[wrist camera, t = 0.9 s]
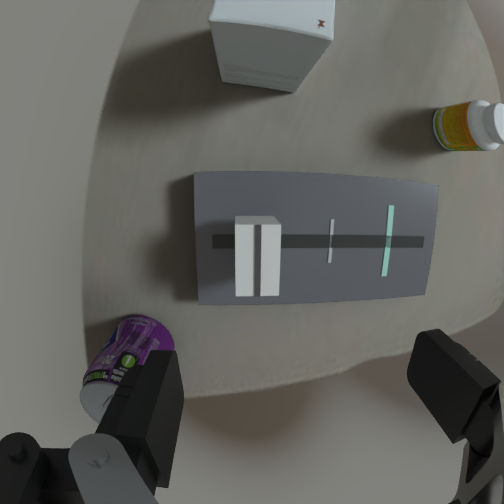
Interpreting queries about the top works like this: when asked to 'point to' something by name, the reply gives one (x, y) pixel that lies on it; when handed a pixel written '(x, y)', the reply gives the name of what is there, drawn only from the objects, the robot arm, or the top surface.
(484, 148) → the supplement bottle
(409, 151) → the top surface
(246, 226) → the fader knob
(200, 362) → the top surface
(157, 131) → the top surface
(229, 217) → the console
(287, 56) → the supplement box
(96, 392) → the beverage can
